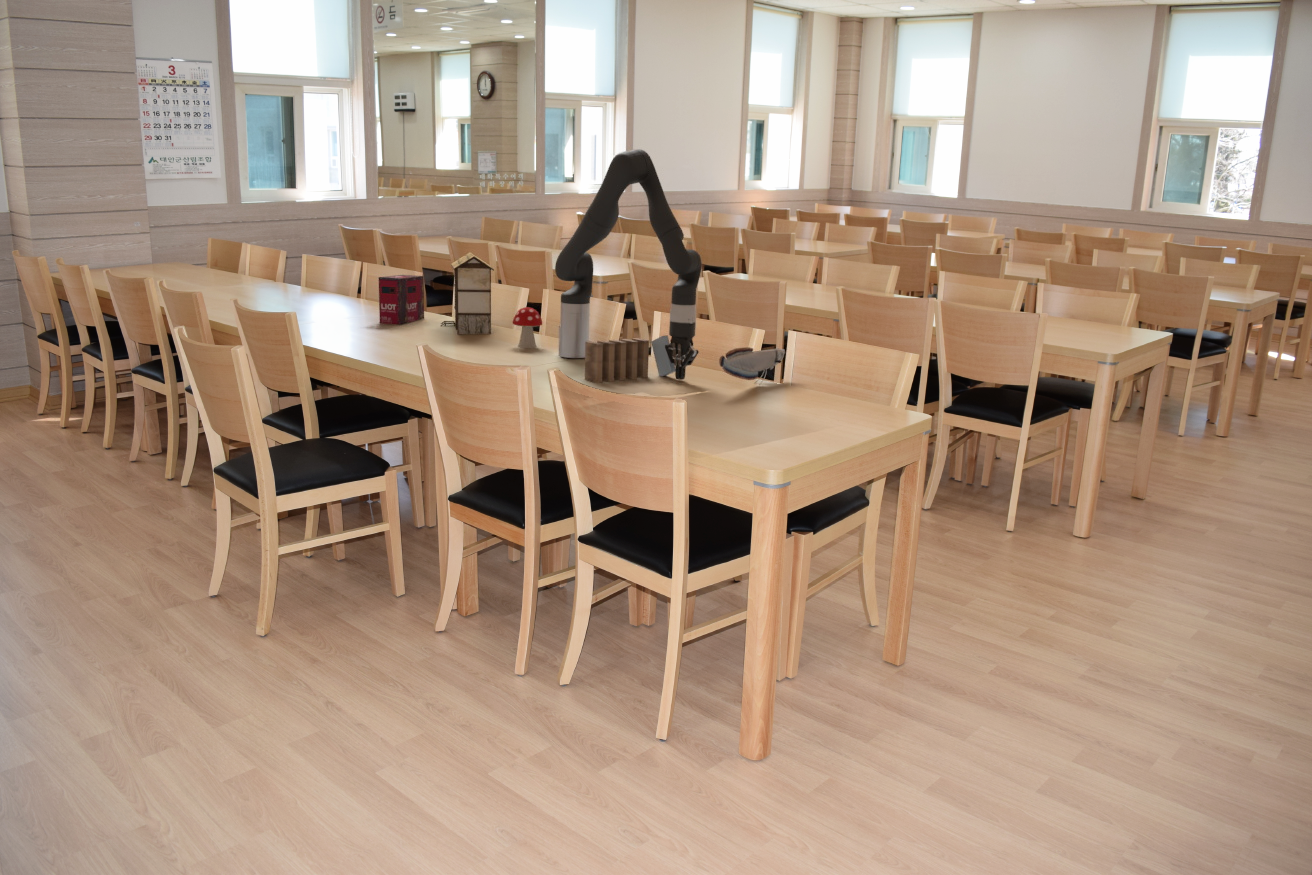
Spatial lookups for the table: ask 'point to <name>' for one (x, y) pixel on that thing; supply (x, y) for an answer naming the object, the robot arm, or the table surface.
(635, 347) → the tile
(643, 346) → the tile
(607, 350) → the tile
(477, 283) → the miniature building
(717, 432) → the table surface
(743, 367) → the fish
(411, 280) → the box
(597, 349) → the tile
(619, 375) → the tile
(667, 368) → the slate tile
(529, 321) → the decorative mushroom
